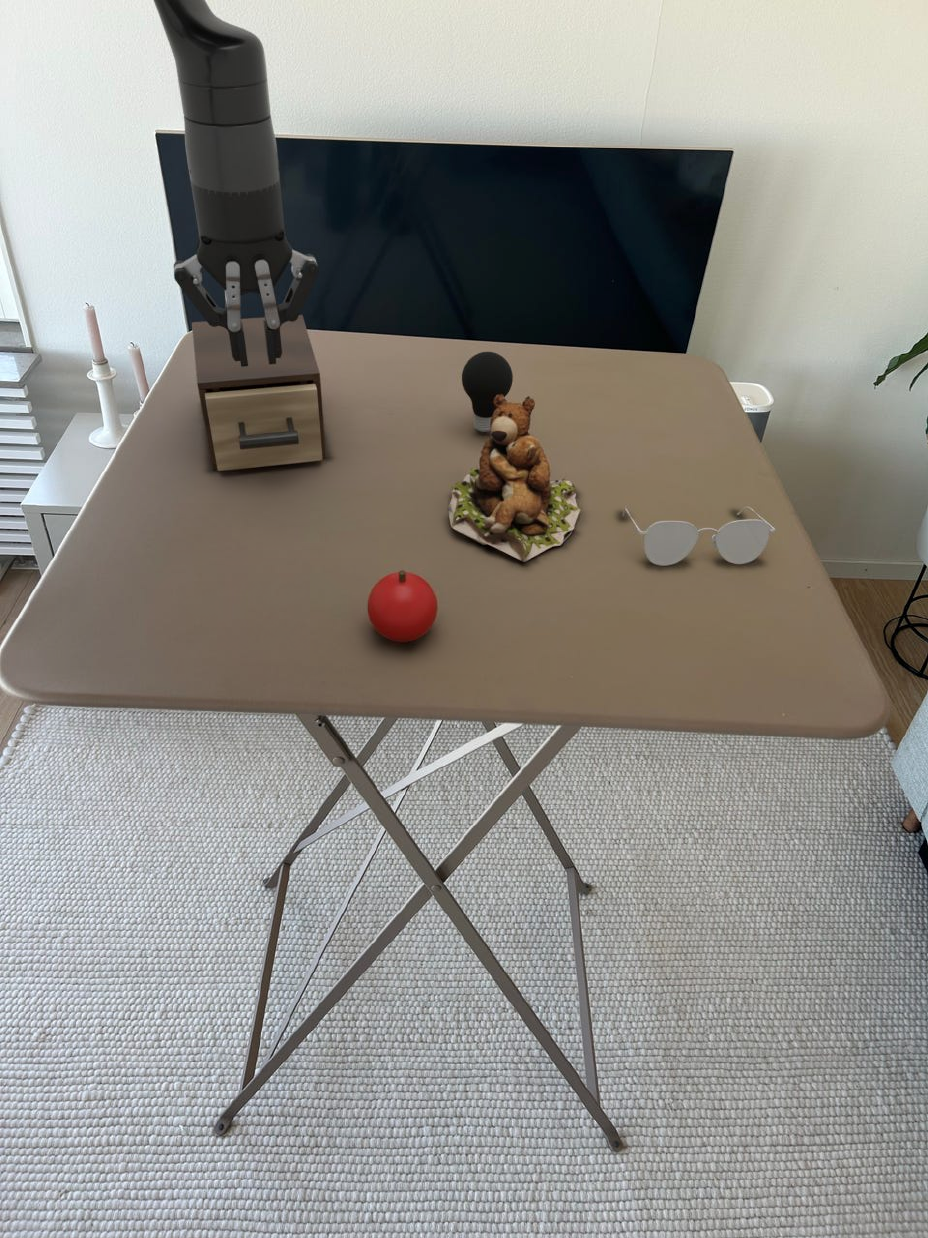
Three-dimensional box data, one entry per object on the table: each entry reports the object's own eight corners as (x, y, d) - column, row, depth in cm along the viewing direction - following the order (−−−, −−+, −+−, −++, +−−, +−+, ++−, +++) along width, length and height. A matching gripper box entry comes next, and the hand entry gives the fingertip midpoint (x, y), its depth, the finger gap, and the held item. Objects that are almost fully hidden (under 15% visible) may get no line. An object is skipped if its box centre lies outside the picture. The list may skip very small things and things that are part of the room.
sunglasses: (635, 566, 88) (641, 521, 86) (615, 527, 95) (621, 485, 93) (768, 563, 90) (779, 519, 87) (739, 525, 97) (749, 483, 94)
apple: (387, 665, 77) (385, 604, 72) (357, 622, 81) (353, 562, 76) (449, 642, 79) (451, 582, 75) (417, 601, 83) (417, 542, 78)
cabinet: (326, 458, 100) (319, 372, 93) (212, 470, 98) (197, 383, 90) (309, 396, 111) (302, 314, 103) (206, 405, 108) (191, 322, 101)
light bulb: (512, 424, 108) (520, 347, 101) (501, 448, 103) (507, 370, 97) (466, 416, 109) (470, 339, 102) (453, 439, 104) (456, 361, 98)
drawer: (328, 481, 95) (322, 409, 89) (220, 493, 93) (207, 419, 87) (306, 400, 108) (300, 332, 102) (211, 409, 105) (199, 339, 99)
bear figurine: (423, 536, 91) (424, 432, 82) (481, 465, 101) (487, 366, 93) (547, 575, 87) (561, 470, 79) (594, 497, 97) (612, 397, 89)
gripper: (150, 191, 71) (187, 386, 83) (321, 184, 74) (333, 373, 86) (150, 163, 77) (184, 350, 88) (310, 158, 80) (322, 339, 91)
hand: (258, 361), depth 87 cm, fingers closed
